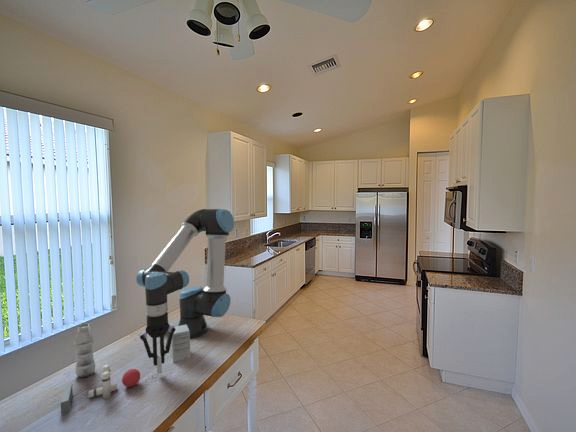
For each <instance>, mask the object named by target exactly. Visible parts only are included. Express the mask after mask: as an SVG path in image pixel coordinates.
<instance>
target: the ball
mask: <svg viewBox="0 0 576 432" xmlns="http://www.w3.org/2000/svg"><path fill="white" fill-rule="evenodd" d="M140 380H141V373H140V371H139V370H138V369H136V368H131V369H128V370H127V371H125V373H123V375H122V378H121V383H122V385H123V386H124V387H126V388H133V387H135V386H137V384H138V383H139V381H140Z"/></svg>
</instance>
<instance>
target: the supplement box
mask: <svg viewBox="0 0 576 432" xmlns="http://www.w3.org/2000/svg"><path fill="white" fill-rule="evenodd" d="M174 327H175V329H176V330H175V332H174V333H173V336H172V341H171V346H170V355H171V358H172V362H173V363H175V362H180V361H185V360H189V359H190V358H191V338H190V331H189V328H188V326H187V325H181V326H178V325H177V326H174Z"/></svg>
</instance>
